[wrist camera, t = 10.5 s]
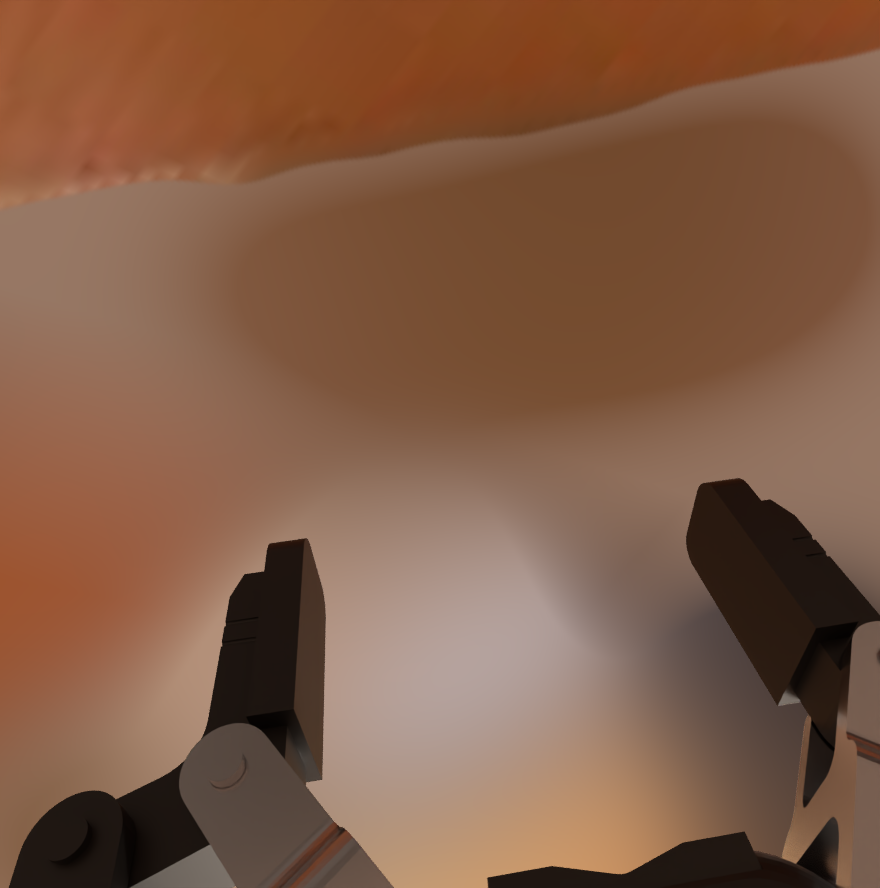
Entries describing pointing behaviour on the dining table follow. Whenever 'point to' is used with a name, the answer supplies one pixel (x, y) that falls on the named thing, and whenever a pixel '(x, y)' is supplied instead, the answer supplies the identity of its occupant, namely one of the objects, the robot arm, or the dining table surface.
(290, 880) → the robot arm
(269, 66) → the dining table surface
